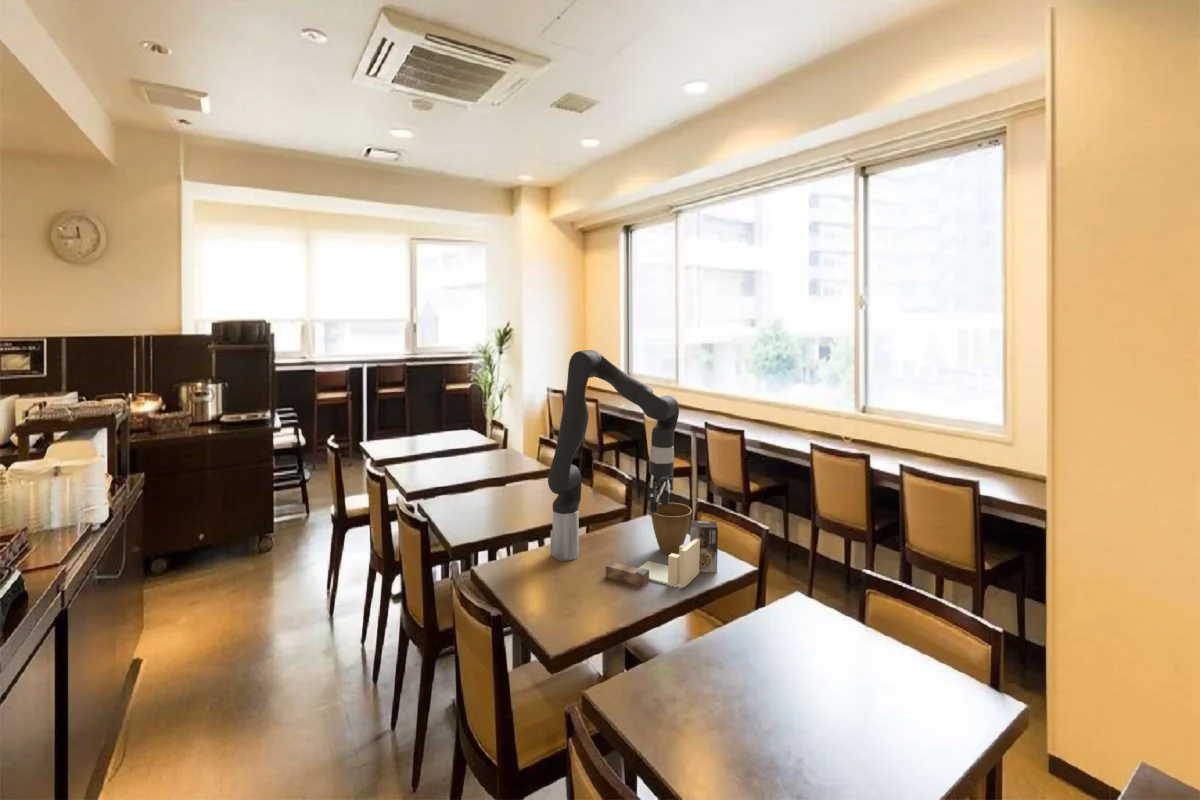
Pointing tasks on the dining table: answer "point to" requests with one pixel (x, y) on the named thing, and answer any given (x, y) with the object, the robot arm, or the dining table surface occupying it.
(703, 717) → the dining table surface
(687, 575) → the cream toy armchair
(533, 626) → the dining table surface
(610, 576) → the rail
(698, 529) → the coffee box
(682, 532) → the plant pot
